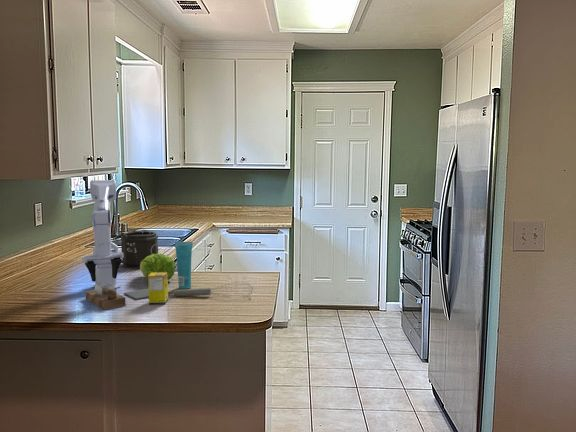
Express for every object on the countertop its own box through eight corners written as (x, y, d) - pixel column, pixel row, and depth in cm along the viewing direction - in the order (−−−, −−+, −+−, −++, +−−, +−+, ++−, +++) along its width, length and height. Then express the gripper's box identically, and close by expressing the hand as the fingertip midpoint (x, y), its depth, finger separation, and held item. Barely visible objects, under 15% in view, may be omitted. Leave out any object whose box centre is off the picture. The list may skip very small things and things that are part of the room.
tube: (194, 286, 217) (193, 240, 214) (192, 289, 212) (191, 242, 209) (176, 286, 217) (175, 240, 214) (174, 289, 212) (173, 242, 210)
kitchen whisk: (170, 294, 205) (170, 279, 204) (253, 296, 203) (253, 280, 202) (166, 298, 199) (165, 283, 198) (251, 300, 197) (251, 284, 197)
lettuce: (163, 260, 242) (138, 247, 235) (185, 262, 225) (158, 248, 217) (151, 285, 238) (125, 273, 231) (172, 290, 221) (144, 276, 213)
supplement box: (168, 300, 196) (167, 271, 195) (165, 304, 190) (164, 275, 189) (152, 300, 196) (151, 271, 194) (148, 305, 190) (147, 275, 189)
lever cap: (95, 293, 194) (94, 284, 194) (107, 291, 197) (106, 282, 196) (102, 297, 189) (102, 287, 188) (114, 295, 192) (114, 285, 191)
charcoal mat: (124, 294, 204) (124, 292, 204) (148, 289, 211) (148, 288, 211) (136, 300, 196) (136, 298, 196) (160, 295, 203) (160, 293, 202)
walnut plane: (85, 299, 197) (85, 283, 197) (106, 295, 203) (106, 280, 202) (103, 309, 184) (103, 293, 183) (125, 305, 189) (125, 289, 188)
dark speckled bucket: (156, 260, 271) (155, 230, 269) (161, 266, 254) (160, 235, 252) (120, 262, 265) (119, 231, 263) (122, 269, 248) (121, 237, 246)
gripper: (86, 246, 183) (88, 284, 184) (126, 242, 192) (127, 278, 194) (79, 244, 188) (81, 281, 190) (118, 240, 198) (120, 275, 199)
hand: (104, 279), depth 192 cm, fingers open, 7 cm apart
